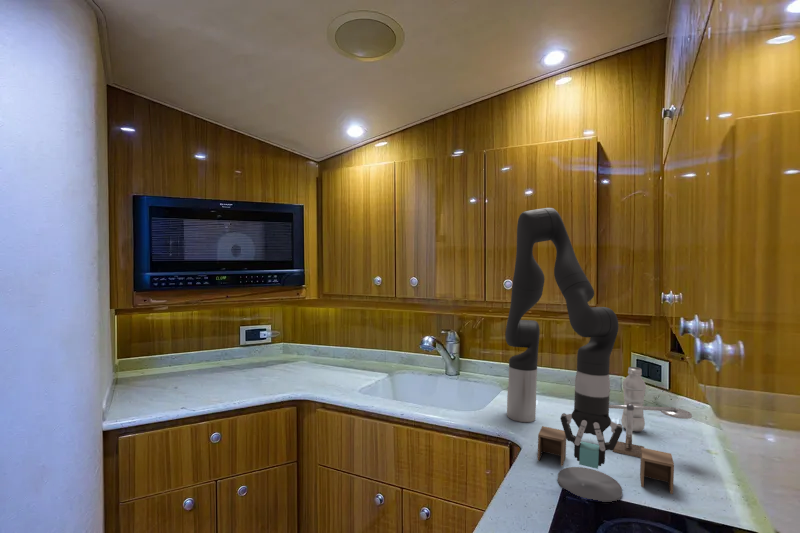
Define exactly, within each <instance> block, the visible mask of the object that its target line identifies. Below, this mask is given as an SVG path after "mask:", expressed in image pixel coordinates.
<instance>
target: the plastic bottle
mask: <svg viewBox="0 0 800 533" xmlns="http://www.w3.org/2000/svg"><path fill="white" fill-rule="evenodd" d="M642 372H643V371H642V368H640V367H636V366H629V367H628V371H627V374H628V375H627V376H626V377H625V378H624V379H623V381H622V389H623V390H622V391H623V399H624V400H623V405H627V404H632V405H633V406H644V399H645V394H646V388H647V385H646V382H645V381H644V379H643V377H642V376H643V374H642ZM622 410H623V411H622V415H621V419H620V420H621V425H622V428H624V429H625V430H626V420H627V409H622ZM645 424H646V423H645V417H644V410H633V431H632V432H636V433H639V432H643V430H644V429H645Z"/></svg>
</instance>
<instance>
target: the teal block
mask: <svg viewBox="0 0 800 533" xmlns="http://www.w3.org/2000/svg"><path fill="white" fill-rule="evenodd" d="M580 443H581V445H580V458H579V461H578V462H579V463H578V464H579V465H580V466H583V467H584V466H585V467H587V468H591V469H592V468H593V469H595V470H598V469H599V466H598V458H599V444H594V443H590V442H585V441H582V440H581V442H580Z"/></svg>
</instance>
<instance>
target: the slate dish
mask: <svg viewBox="0 0 800 533" xmlns="http://www.w3.org/2000/svg"><path fill="white" fill-rule="evenodd" d="M557 483H558V484H559V486H560V487H561V489H563V488H564V489H566V490H568V491H570V492H571V493H573V494H575V495H577V496H580V497H583V498H587V499H593V500H598V501H602V502H612V501H616V502H618V501H619V500H620V499H622V496H623V487H622V486H621V484H620V483H619V482H618V480H616V479H615V478H614V477H611V475H609V474H606V473H604V472H602V471H599V470H597V469H594V468H593V469H592V468H590V467H584V466H583V467H582V466H572V467H571V466H570V467H568V466H567V467H565V468H562V469H561V470H559V472H558V473H557ZM564 489H563V490H564ZM617 500H618V501H617ZM612 503H613V502H612Z"/></svg>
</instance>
